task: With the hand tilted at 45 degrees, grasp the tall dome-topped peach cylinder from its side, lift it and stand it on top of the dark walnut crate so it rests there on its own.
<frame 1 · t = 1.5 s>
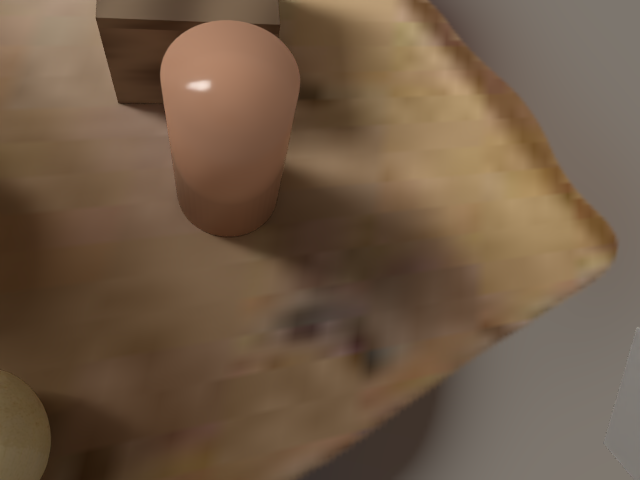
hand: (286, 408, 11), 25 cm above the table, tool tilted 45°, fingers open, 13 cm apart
dome-topped peach cylinder: (228, 190, 39), on the table
walnut crate: (194, 43, 43), on the table
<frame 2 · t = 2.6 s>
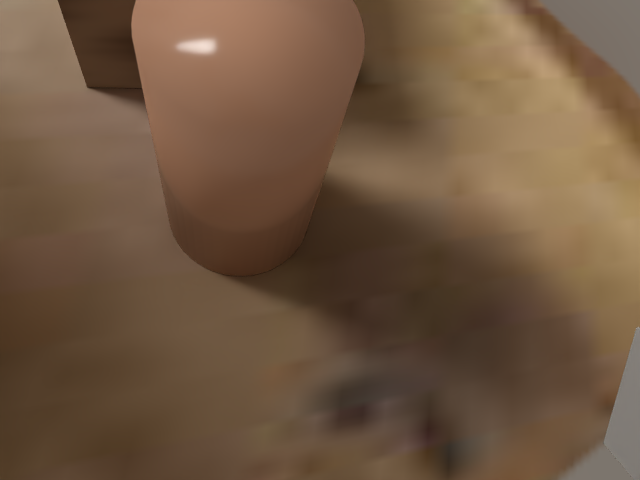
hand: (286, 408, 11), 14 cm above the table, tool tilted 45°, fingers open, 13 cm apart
dome-topped peach cylinder: (240, 209, 28), on the table
walnut crate: (193, 8, 32), on the table
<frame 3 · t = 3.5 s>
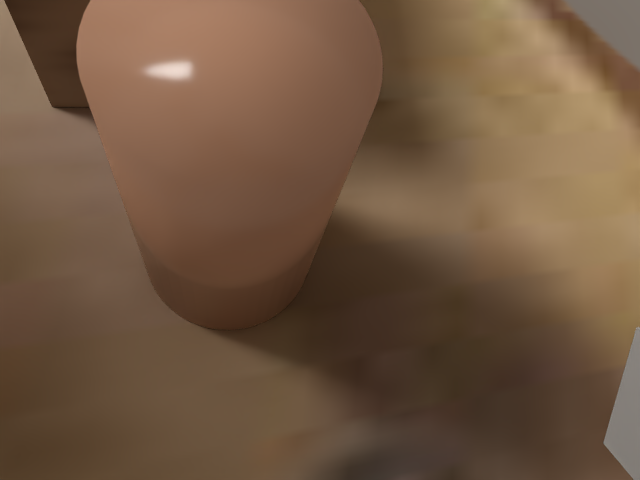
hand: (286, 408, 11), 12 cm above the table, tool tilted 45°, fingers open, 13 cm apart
dome-topped peach cylinder: (229, 249, 24), on the table
walnut crate: (176, 14, 28), on the table
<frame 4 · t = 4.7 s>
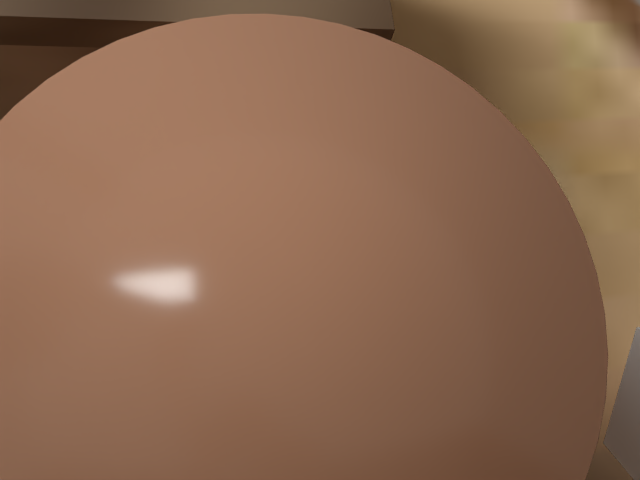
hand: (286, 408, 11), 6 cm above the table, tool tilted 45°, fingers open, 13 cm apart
dome-topped peach cylinder: (243, 417, 17), on the table
walnut crate: (170, 68, 20), on the table
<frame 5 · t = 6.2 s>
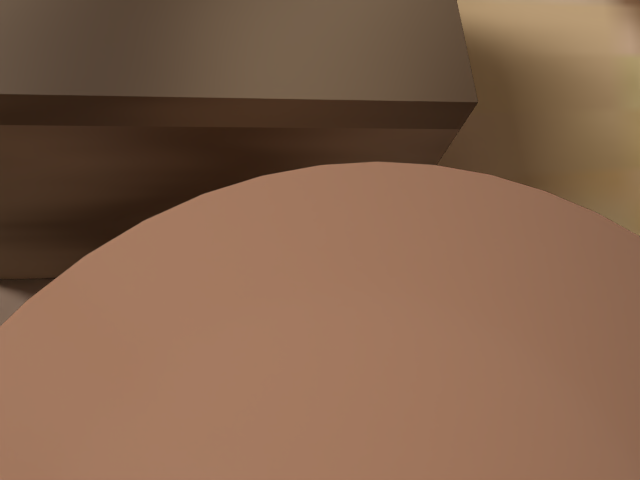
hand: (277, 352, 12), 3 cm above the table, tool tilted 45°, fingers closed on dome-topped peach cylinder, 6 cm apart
walnut crate: (184, 113, 18), on the table
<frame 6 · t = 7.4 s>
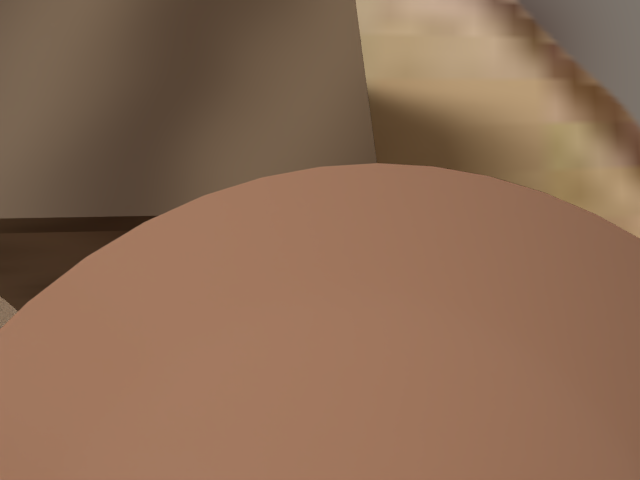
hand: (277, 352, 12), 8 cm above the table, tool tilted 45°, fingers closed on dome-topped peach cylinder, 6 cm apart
walnut crate: (185, 182, 22), on the table
when the fingers open (13 cm above the table, at t = 12.4 s): dome-topped peach cylinder drops 1 cm, resting on walnut crate.
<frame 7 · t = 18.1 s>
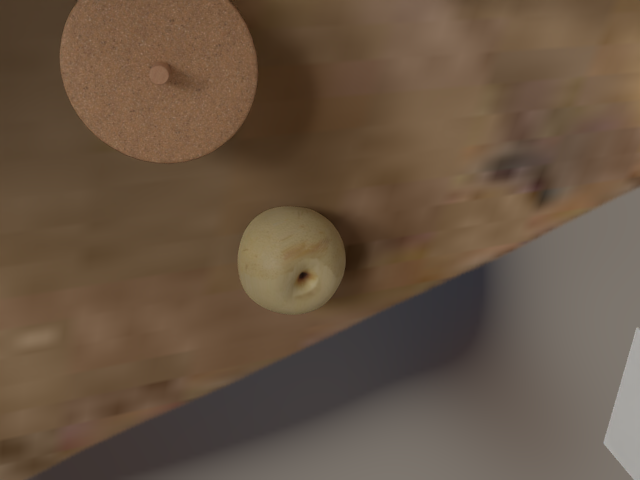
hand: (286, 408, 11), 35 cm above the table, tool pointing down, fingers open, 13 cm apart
apple: (286, 241, 48), on the table
lidded jar: (170, 54, 41), on the table
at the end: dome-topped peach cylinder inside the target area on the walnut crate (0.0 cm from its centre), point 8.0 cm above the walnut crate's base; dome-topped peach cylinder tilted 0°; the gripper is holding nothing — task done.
